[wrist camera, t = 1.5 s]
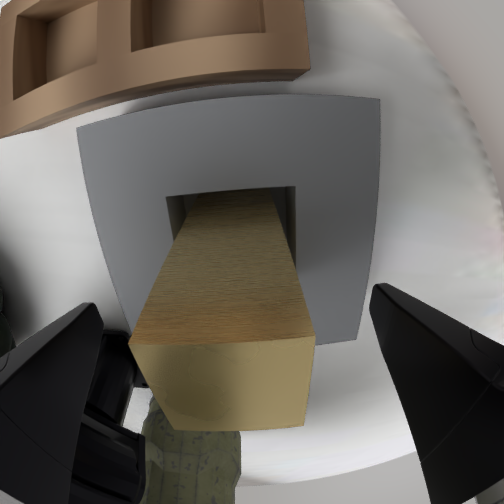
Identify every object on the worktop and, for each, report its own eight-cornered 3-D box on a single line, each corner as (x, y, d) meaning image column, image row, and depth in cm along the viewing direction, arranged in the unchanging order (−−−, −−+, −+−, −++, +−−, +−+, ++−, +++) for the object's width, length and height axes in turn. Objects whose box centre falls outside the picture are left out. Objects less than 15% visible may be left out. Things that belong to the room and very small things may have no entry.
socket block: (337, 297, 18) (356, 339, 14) (155, 309, 18) (140, 352, 15) (345, 101, 13) (379, 98, 9) (115, 122, 13) (76, 128, 9)
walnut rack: (279, -42, 8) (289, -79, 5) (292, 81, 12) (310, 69, 9) (40, 17, 9) (1, 7, 5) (41, 128, 12) (-2, 139, 9)
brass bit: (271, 250, 15) (303, 425, 6) (207, 255, 15) (174, 429, 6) (269, 187, 14) (315, 336, 5) (199, 193, 14) (127, 343, 5)
